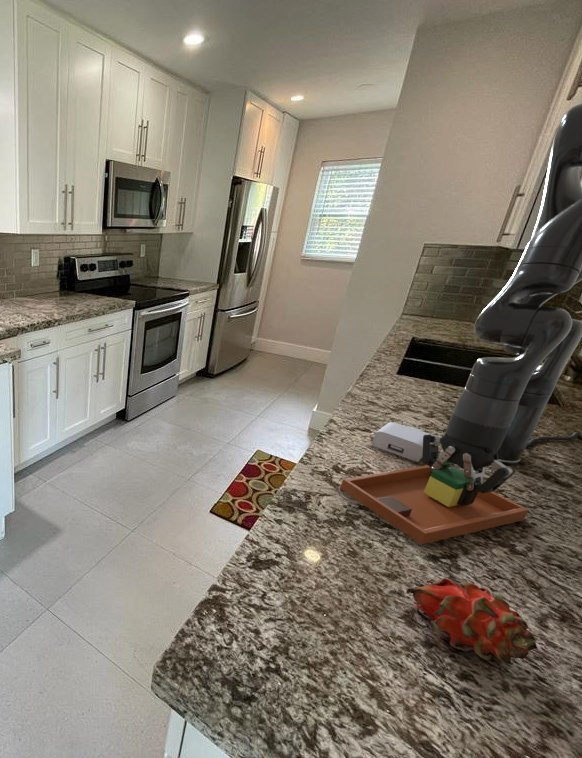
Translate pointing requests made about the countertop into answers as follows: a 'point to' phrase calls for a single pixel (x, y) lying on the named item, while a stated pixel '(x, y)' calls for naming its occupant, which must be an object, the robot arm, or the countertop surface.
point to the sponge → (446, 485)
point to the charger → (400, 440)
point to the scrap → (396, 505)
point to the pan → (429, 505)
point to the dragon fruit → (474, 619)
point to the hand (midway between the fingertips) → (447, 495)
